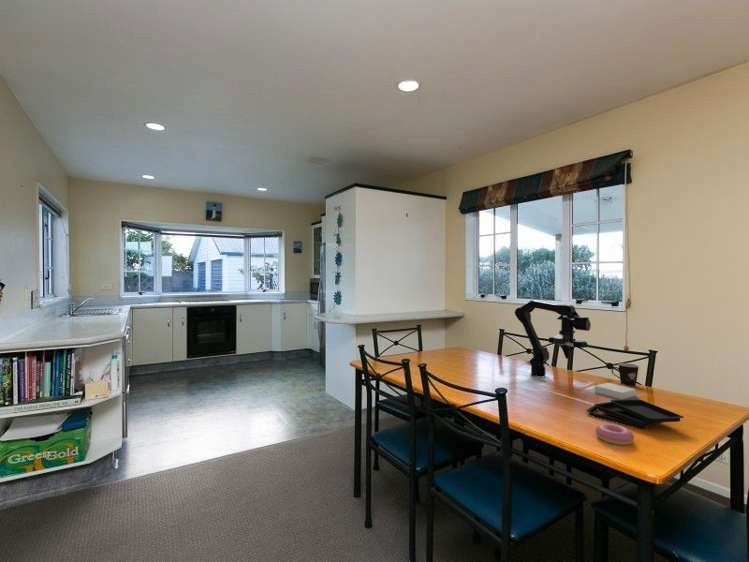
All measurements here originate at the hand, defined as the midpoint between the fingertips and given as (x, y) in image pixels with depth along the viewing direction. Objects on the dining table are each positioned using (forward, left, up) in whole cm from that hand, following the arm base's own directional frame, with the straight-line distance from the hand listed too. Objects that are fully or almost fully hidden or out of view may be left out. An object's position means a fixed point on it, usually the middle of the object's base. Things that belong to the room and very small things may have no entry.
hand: (567, 358), depth 196 cm
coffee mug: (+25, +12, -12) cm, 30 cm away
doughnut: (+24, -69, -12) cm, 74 cm away
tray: (+29, -44, -12) cm, 54 cm away
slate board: (+21, -14, -12) cm, 28 cm away
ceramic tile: (+16, -12, -9) cm, 22 cm away
